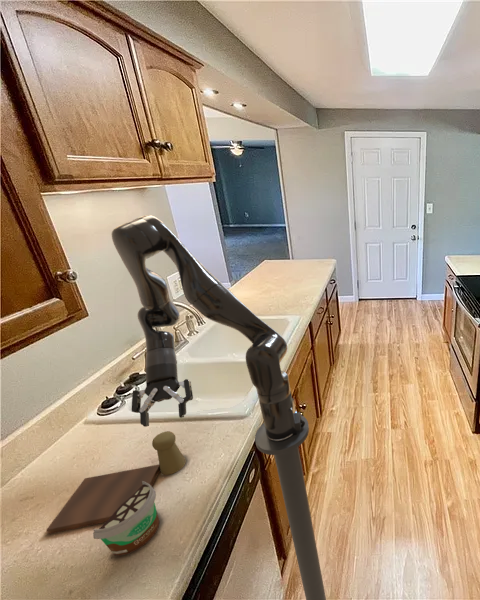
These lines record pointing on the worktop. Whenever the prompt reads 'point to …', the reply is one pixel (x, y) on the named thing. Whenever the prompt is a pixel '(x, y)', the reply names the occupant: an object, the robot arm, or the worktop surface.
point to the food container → (131, 523)
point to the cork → (168, 453)
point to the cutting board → (101, 498)
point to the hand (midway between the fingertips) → (164, 421)
